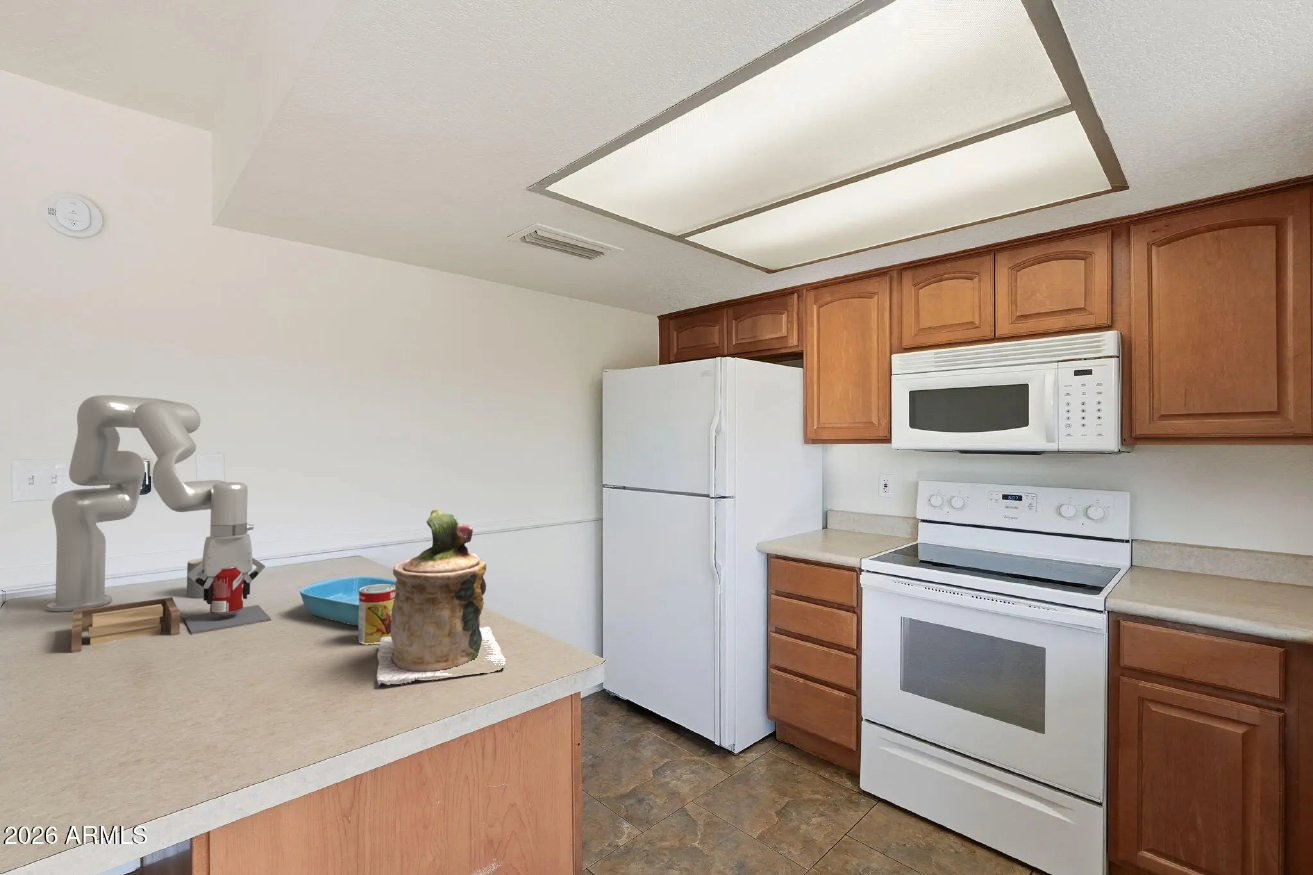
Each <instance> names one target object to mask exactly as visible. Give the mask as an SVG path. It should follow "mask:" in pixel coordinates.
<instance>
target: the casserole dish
mask: <svg viewBox="0 0 1313 875" xmlns="http://www.w3.org/2000/svg"><path fill="white" fill-rule="evenodd" d="M377 584H391V585H396V579H392V578H385V577H382V576H381V577H380V576H372V575H371V576H370V575H357V576H347V577H339V578H338V577H337V578H330V579H323V580H321V581H316V582H313V583H311V584H310V585H307V586H304V587H302V588H300V590H299V593H300V596H301V599H302V603H303V605H304V607H305V609H306V611H307V612H308V613H309V614H311V615H313V616H315V615H316V616H315V617H318V616H319V617H318V618H321V617H323V618H322V619H325V618H327V619H326V620H329V619H332V620H331V621H333V620H336V621H335V622H338V621H340V622H339V623H342V622H345V623H344V624H346V623H349V624H348V625H351V624H354V625H353V626H356V625H359V590H360V589H361V588H363V587H365V586H370V585H377Z"/></svg>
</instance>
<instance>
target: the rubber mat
mask: <svg viewBox="0 0 1313 875" xmlns="http://www.w3.org/2000/svg"><path fill="white" fill-rule="evenodd" d="M265 620H270V621H272V618H271V617H270V615H269V614H268V613H267V612H266V611H265V610H264V609H263V608H261V606H260V605H259V604H255V605H249V606H248V605H247V606H243V609H242V610H240V611H238V612H237V613H234V614H230V615H223V616H218V615H215V614H212V613H210V612H205V613H198V614H192V615H185V616H183V621H184V622H185V625H186V626H187V628H188V631H189V632H190V634H191V635H194V634H201V633H206V632H212V631H217V630H218V629H219V630H222V629H223V630H225V629H229V628H236V627H241V625H242V626H245V625H244V624H247V625H251V623H253V624H255V623H254V622H259V623H262V622H261V621H265ZM265 622H266V621H265ZM235 626H236V627H235Z"/></svg>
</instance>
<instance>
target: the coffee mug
mask: <svg viewBox="0 0 1313 875" xmlns="http://www.w3.org/2000/svg"><path fill="white" fill-rule="evenodd" d="M202 559H203V557H201V558H194V559H191V560H188V561H187V565H186V567H187V568H186V570H187V571H186V572H187V573H186V574H187V575H186V598H188V599H203V597H204V588H203V587H202V586H200V585H199V584H198V583H196V582H195V581H194V580H192V579H191V578H190V577H189V576H188V573H189V572H191V571H192V570H193V569H194V568H196V567H197V566H198V565H199V564H201V563H202ZM197 576H198V577H200V578H201V579H203V580H205V578H206V576H205V575H204V574H203V573H202V570H201V571H200V572H199V573H198V574H197Z"/></svg>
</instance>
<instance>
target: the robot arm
mask: <svg viewBox="0 0 1313 875" xmlns="http://www.w3.org/2000/svg"><path fill="white" fill-rule="evenodd" d="M201 422H202V421H201V416H200V413H199V412H198V410H197V409H196V408H195V406H192V405H190V404H188V403H184V402H183V403H182V402H177V401H176V402H175V401H172V400H166V399H162V398H161V399H159V398H152V397H142V396H139V397H138V396H127V395H113V394H112V395H111V394H110V395H109V394H108V395H107V394H104V395H103V394H102V395H100V394H99V395H93V396H91V397H90V396H89V397H88V398H86V399H85V400H83V401H82V403H81V404H80V405H79V407H78V409H77V414H76V424H77V434H76V436H77V437H76V439H75V445H74V447H73V450H72V455H71V460H70V464H69V469H68V475H69V476H68V477H69V479H70V482H72V483H73V484H76V485H78V486H83V487H84V486H85V487H93V486H94V487H93V488H80V489H79V488H78V489H73V490H68V491H64V492H62V493H60V494H58V495H57V496H56V497H55V498H54V500H53V501H52V503H51V512H52V513H51V514H52V517H53V520H54V526H55V532H56V533H55V534H56V535H55V536H56V556H55V557H56V560H55V562H56V565H55V566H56V567H55V569H56V570H55V600H54V601H52V602H50V603H48V604H47V605H46V610H47V611H50V612H71V611H75V610H82V609H90V608H97V607H103V606H106V605H108V604H110V603H111V602H113V596H112V595H107V594H106V593H105V592H106V591H105V590H106V589H105V588H106V553H107V552H106V551H107V550H106V548H107V546H106V543H107V542H106V536H105V534H104V533H103V532H102V530H101V529H100V528H99V526H98V525H97V524H99V523H104V522H113V521H118V520H119V521H121V520H124V519H125V520H126V519H127V518H129V517H130V516H132V515H133V514H134V512H135V511H136V508H137V506H138V502H139V497H140V494H141V491H142V486H143V483H144V482H143V481H144V478H145V473H146V472H145V471H146V468H145V467H146V466H145V463H144V459H143V458H142V456H141V455H139V454H138V453H137V452H134V451H129V450H119V446H120V443H121V437H120V433H119V432H118V430H117V428H128V429H138V431H140V433H141V435H142V436H143V438H144V439H145V441H146V442H147V445H148V446H149V447H150V448H151V450H152V451H153V453H154V454H155V456H156V458H157V459H156V461H155V463H154V465H153V468H152V485H153V487H154V489H155V491H156V493H157V495H158V496H159V498H160V499H161V501H162V502H163V503H164V505H165V506H167V508H169V509H170V510H171V511H173V512H176V513H186V512H187V513H188V512H189V513H190V512H194V511H195V512H197V511H205V510H210V524H209V525H210V526H209V527H210V528H209V530H210V531H209V536H206V537H205V541H204V544H203V551H202V558H203V559H202V563H201V564H199V565H198V566H197V567H196V568H194V569H193V570H192V571H191V572H189V573H188V576H189V577H190V578H191V579H192V580H194V581H195V582H196V583H198V584H199V585H200V586H202V587H203V588H204V597H203V598H202V599H203V601H204V602H206V604H207V605H210V604H211V603H212V588H211V583H212V582H213V577H215V576H216V575H217V574H218V573H219V572H220V571H221V570H222V569H221V568H231V567H237V569H238V570H239V571H241V572H242V573H243V577H244V585H243V600H247V599H248V595H250V594H251V583H252V582H253V580H254V579H256V578H257V577H258V575H259V574H261V573H262V571H263V570H264V569H265V568H266V566H265V564H263V563H261V561H258V560H257V559H255V558H254V557H253V549H252V541H251V536H250V534H249V533H248V532H249V531H251V530H252V531H253V530H254V524H249V523H248V490H249V489H248V486H247V484H246V483H244V482H239V481H237V482H235V481H234V482H233V481H231V482H230V481H229V482H228V481H224V480H218V479H213V480H212V479H211V480H210V479H209V480H194V481H193V480H192V481H191V480H190V481H183V479H182V478H181V476H180V474H179V473H178V471H177V469H176V464H178V463H182V462H183V461H185V460H187V459H188V458H190V457H191V456H193V455H194V454H195V452H196V449H197V444H196V442H195V441H194V439H193V438H192V436H191V435H190V434H192V433H194V432H196V431H197V430H198V429H199V427H200V425H201ZM98 486H99V487H100V486H108V487H100V488H97V487H98ZM253 565H254V566H255V567H256V568H254V570H253ZM201 570H202V573H203V574H204V575H205V576H206V578H205V580H203V579H201V578H200V577H198V576H197V574H198V573H199V572H200V571H201ZM252 570H253V571H252ZM251 571H252V572H251Z"/></svg>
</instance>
